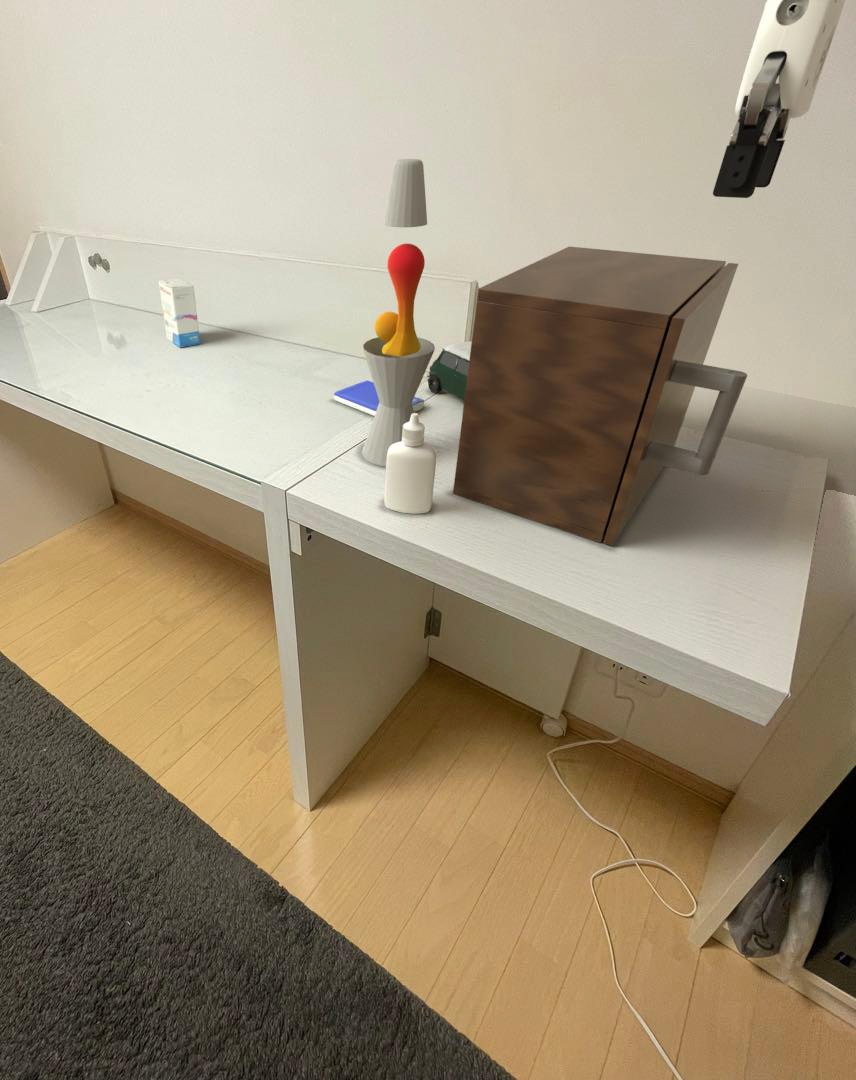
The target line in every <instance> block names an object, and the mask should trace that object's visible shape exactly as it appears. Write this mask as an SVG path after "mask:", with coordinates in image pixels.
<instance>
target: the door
mask: <svg viewBox="0 0 856 1080" xmlns="http://www.w3.org/2000/svg"><path fill="white" fill-rule="evenodd" d="M738 267H739V263H733V262H728V263H726V264H725V267H724V268H723V269H722V270H721V271H720V272H719V273H718V274H717V275H716V276H715V277H714V278H713V279H712V280H711V281H710V282H709V283H708V284H707V285H706V286H704V287H703V288H702V289H701V290H700V291H699V292H698V293H697V294H696V295H695V296H694V297H693V298H692V299H691V300H690V301H689V302H688V303H687V304H686V305H685V306H684V307H683V308H682V309H681V310H680V311H679V312H678V313H677V314H676V315H675V316H674V317H673V318H672V321H671V324H670V327H669V331H668V334H667V337H666V340H665V344H664V347H663V350H662V353H661V357H660V360H659V363H658V366H657V370H656V373H655V376H654V379H653V383H652V386H651V389H650V392H649V396H648V399H647V402H646V405H645V409H644V412H643V415H642V418H641V422H640V425H639V428H638V431H637V435H636V438H635V441H634V444H633V448H632V451H631V454H630V457H629V461H628V464H627V467H626V470H625V474H624V477H623V480H622V483H621V487H620V490H619V493H618V496H617V500H616V503H615V506H614V509H613V513H612V516H611V519H610V522H609V526H608V529H607V532H606V535H605V537H604V538H603V541H602V543H603V544H605V545H608V546H611V547H612V546H614V544H615V543H616V541H617V540H618V538H619V537H620V535H621V533H623V531H624V530H625V527H626V526H627V524H628V523H629V521H630V519H631V518H632V516H633V515H634V514H635V512H636V510H637V509H638V508H639V506H640V504H641V502H642V501H643V499H644V498H645V496H646V495H647V493H648V492H649V490H650V489H651V487H652V485H653V484H654V482H655V481H656V479H657V478H658V476H659V475H660V473H661V472H662V470H663V468H664V467H666V468H668V469H669V468H670V469H674V470H677V471H682V472H685V473H689V474H693V475H696V476H707V475H708V474H709V473H710V470H711V468H712V466H713V463H714V460H715V458H716V456H717V454H718V450H719V448H720V446H721V443H722V440H723V438H724V435H725V433H726V432H727V431H726V430H727V428H728V426H729V422H730V421H731V418H732V416H733V413H734V410H735V408H736V406H737V403H738V401H739V399H740V395H741V393H742V391H743V388H744V385H745V383H746V381H747V378H748V373H746V372H744V371H741V370H737V369H736V370H735V369H731V368H724V367H718V366H713V365H707V364H704V363H705V361H706V357H707V355H708V352H709V349H710V346H711V343H712V340H713V337H714V334H715V332H716V330H717V327H718V323H719V320H720V318H721V314H722V312H723V310H724V306H725V303H726V300H727V297H728V295H729V292H730V289H731V286H732V284H733V281H734V278H735V276H736V275H735V274H736V272H737V269H738ZM696 387H697V388H701V389H706V390H707V389H708V390H711V391H718V395H717V397H716V400H715V403H714V405H713V407H712V411H711V412H710V416H709V419H708V421H707V423H706V427H705V430H704V432H703V434H702V437H701V440H700V443H699V445H698V448H697V449H696V451H694V450H689V449H686V448H681V447H677V446H675V445H676V443H677V440H678V437H679V434H680V432H681V429H682V425H683V423H684V420H685V418H686V415H687V411H688V409H689V406H690V403H691V400H692V397H693V394H694V392H695V389H696Z"/></svg>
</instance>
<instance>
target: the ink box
mask: <svg viewBox="0 0 856 1080" xmlns="http://www.w3.org/2000/svg"><path fill="white" fill-rule="evenodd" d="M158 287H159V293H160V300H161V308H162V314H163V315H162V316H163V322H164V328H165V335H166V336H165V337H166V339H168V340H169V341H170V342H172V343H173V344H174V345H175V346H177V347H178V348H185V347H190V346H197V345H200V344H201V337H200V328H199V327H200V326H199V319H198V311H197V301H196V293H195V287H194V285H193V284H191V283H189V282H188V281H185V280H184V279H181V278H172V279H169V278H168V279H161V280H158Z"/></svg>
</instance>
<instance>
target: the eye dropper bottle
mask: <svg viewBox="0 0 856 1080" xmlns="http://www.w3.org/2000/svg"><path fill="white" fill-rule="evenodd" d="M425 429H426V426H425V425H424V423H422V422H420V420H419V414H418V413H416V412H414V413H412V414H411V418H410V421H409V422H407V423H405V424H404V425H403V432H402V441H401V442H397V443H394V444H392V445H391V446H390V447H389V449H388V453H387V462H386V467H385V479H384V480H385V481H384V482H385V483H384V500H383V501H384V506H385V508H387V509H389V510H391V511H394V512H398V513H403V514H414V515H415V514H416V515H417V514H426V513H429V512H430V511H431V508H432V505H433V496H434V488H435V487H434V486H435V475H436V466H437V451H436V449H435V448H434V447H433V446H432V445H429V444H428V443H425V441H424V440H425Z"/></svg>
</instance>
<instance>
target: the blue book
mask: <svg viewBox="0 0 856 1080" xmlns="http://www.w3.org/2000/svg"><path fill="white" fill-rule="evenodd" d="M333 400H334V401H335V402H338V403H341V404H343V405H346V406H347V407H349V408H350V407H351V408H353V409H356V410H358V411H361V412H363V413H366V414H368V415H371V416H375V413H376V411H377V408H378V405H379V402H380V401H379V398H378V395H377V392H376V388H375V385H374V382H373V381H370V380H364V381H360V382H359V383H355V384H352V385H350V386H348V387H345V388H342V389H340V390H336V391H335V392H334V393H333ZM412 406H413V410H414V413H416V412H418V411H421V410H422V409H423V408H424V406H425V400H424V399H422V398H420V397H416V396H414V399H413V401H412Z"/></svg>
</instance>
